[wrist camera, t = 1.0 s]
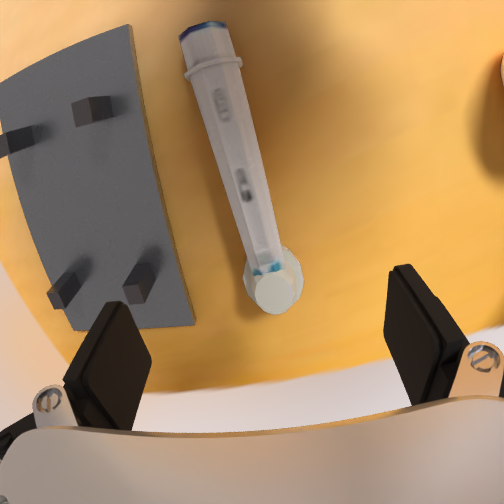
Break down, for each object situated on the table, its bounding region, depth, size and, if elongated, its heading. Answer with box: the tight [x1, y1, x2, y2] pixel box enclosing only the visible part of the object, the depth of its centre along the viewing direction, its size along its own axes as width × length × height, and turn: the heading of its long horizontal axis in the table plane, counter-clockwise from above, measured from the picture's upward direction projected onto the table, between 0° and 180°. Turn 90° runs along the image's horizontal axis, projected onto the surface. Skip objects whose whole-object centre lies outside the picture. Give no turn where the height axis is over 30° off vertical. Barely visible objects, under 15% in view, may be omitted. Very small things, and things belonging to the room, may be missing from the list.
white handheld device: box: [178, 21, 304, 315], centre depth 26 cm, size 5×7×25 cm
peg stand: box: [0, 24, 196, 331], centre depth 26 cm, size 30×16×5 cm, turn 8°
